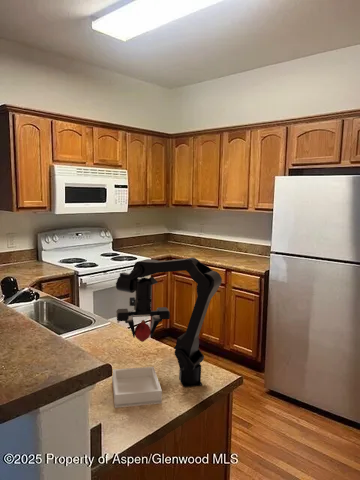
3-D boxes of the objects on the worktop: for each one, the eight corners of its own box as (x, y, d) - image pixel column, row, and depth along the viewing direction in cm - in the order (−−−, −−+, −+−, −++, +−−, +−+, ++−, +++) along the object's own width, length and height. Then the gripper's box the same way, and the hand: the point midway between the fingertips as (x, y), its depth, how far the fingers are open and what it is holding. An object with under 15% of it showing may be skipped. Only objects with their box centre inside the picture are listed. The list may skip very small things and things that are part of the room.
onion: (147, 345, 128) (148, 323, 128) (132, 343, 130) (132, 322, 129) (152, 339, 134) (152, 318, 133) (137, 337, 135) (137, 317, 134)
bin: (153, 377, 126) (153, 366, 126) (161, 403, 111) (161, 390, 110) (112, 380, 123) (112, 369, 122) (114, 407, 107) (115, 395, 107)
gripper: (165, 288, 140) (163, 327, 142) (115, 289, 135) (115, 330, 137) (170, 296, 129) (169, 338, 131) (117, 298, 125) (116, 341, 126)
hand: (142, 336), depth 132 cm, fingers closed on onion, 6 cm apart
